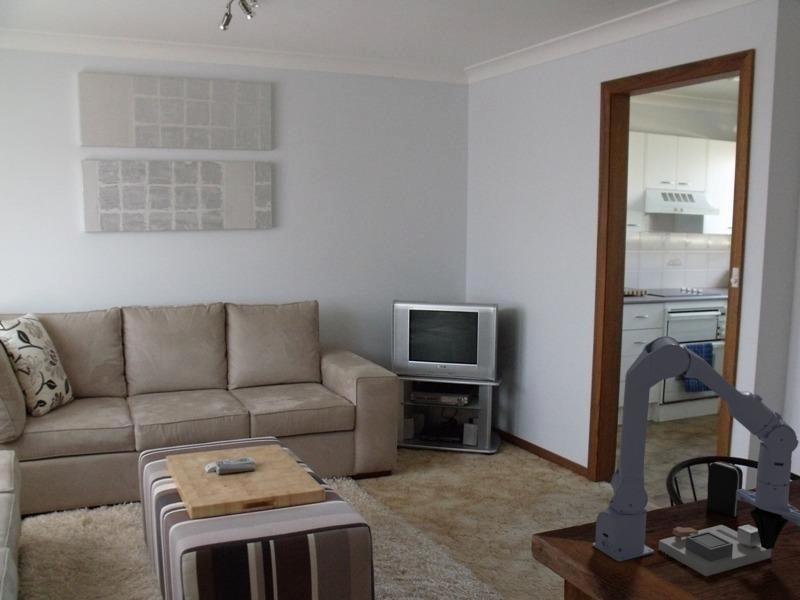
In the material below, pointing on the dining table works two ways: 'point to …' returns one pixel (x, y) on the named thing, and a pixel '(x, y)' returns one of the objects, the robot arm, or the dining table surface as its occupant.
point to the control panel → (713, 551)
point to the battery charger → (724, 488)
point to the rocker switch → (684, 531)
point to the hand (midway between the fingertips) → (767, 547)
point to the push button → (709, 541)
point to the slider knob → (748, 535)
